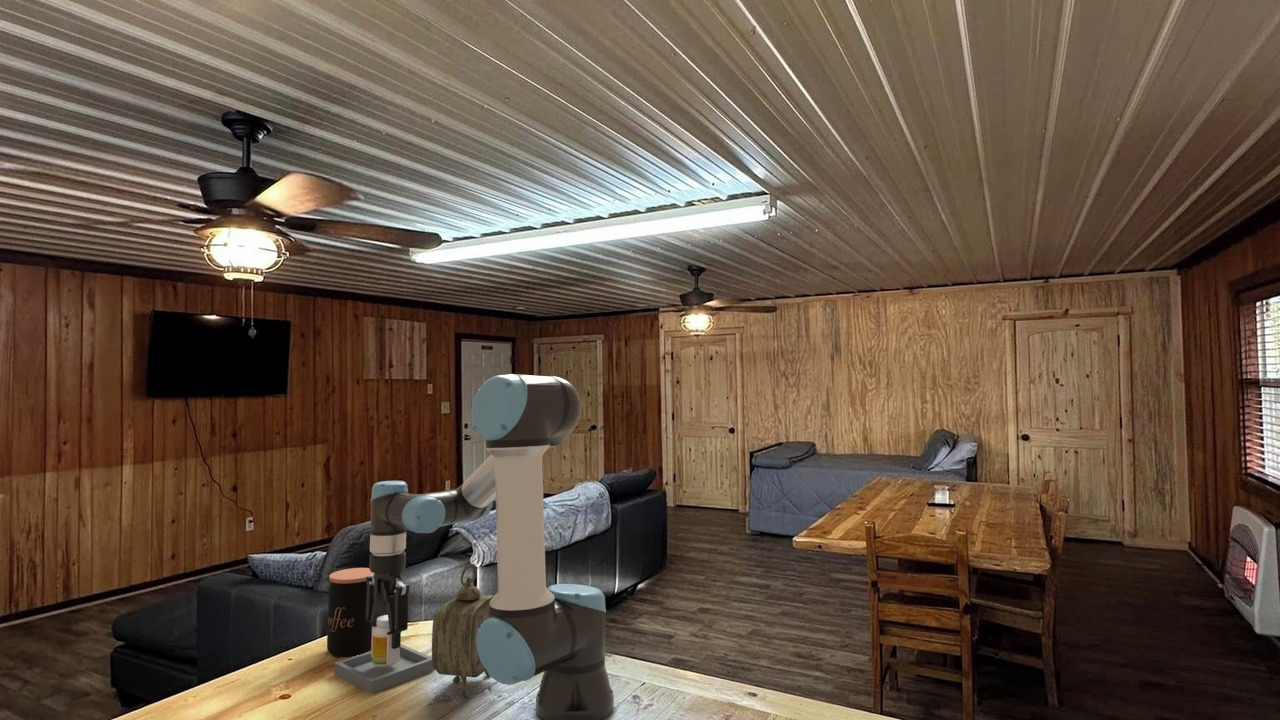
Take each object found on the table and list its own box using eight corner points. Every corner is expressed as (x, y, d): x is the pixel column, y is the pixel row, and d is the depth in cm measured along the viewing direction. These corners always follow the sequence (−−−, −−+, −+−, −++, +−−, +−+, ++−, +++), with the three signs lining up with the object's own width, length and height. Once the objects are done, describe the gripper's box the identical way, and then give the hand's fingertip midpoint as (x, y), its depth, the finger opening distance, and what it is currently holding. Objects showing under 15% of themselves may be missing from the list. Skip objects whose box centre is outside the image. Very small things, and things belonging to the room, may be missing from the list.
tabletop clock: (469, 703, 130) (471, 574, 131) (427, 698, 131) (430, 572, 133) (499, 672, 144) (501, 557, 145) (461, 669, 146) (463, 555, 147)
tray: (434, 670, 145) (435, 658, 145) (371, 694, 133) (371, 681, 133) (396, 653, 154) (397, 642, 154) (334, 674, 142) (334, 662, 143)
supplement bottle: (395, 667, 142) (396, 621, 142) (369, 668, 141) (370, 622, 141) (400, 657, 147) (401, 613, 148) (375, 658, 146) (376, 614, 147)
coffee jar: (317, 652, 155) (319, 574, 156) (359, 638, 164) (361, 565, 165) (342, 662, 149) (345, 582, 150) (384, 647, 158) (386, 572, 159)
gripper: (427, 555, 142) (424, 664, 141) (381, 543, 154) (378, 644, 153) (395, 561, 137) (393, 675, 135) (350, 548, 148) (347, 653, 147)
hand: (385, 658), depth 144 cm, fingers closed on supplement bottle, 5 cm apart
